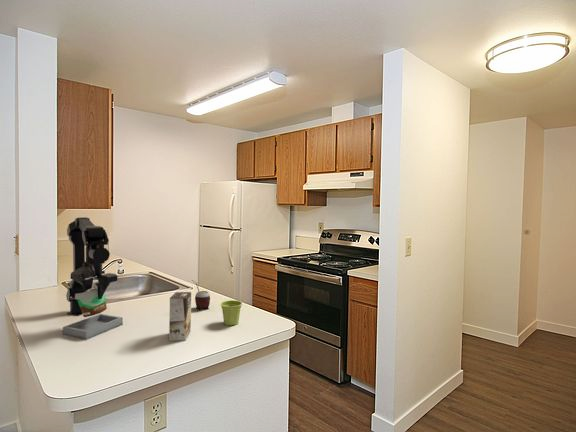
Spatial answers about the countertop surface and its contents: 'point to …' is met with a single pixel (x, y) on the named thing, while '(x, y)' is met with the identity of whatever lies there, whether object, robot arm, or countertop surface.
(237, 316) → the plant pot
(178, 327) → the coffee box
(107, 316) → the tray
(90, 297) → the food container
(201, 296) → the mate gourd
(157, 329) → the countertop surface
